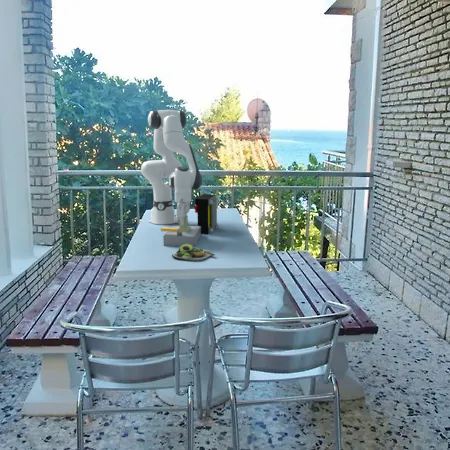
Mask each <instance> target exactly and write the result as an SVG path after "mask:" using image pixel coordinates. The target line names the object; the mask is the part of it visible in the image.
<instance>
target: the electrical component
mask: <svg viewBox="0 0 450 450" xmlns="http://www.w3.org/2000/svg"><path fill="white" fill-rule="evenodd" d="M218 200H219V197H218V196H217V195H216V194H210V193H209V194H207V193H206V194H205V193H202V194H201V195H200V196H197V197H196V198H195V205H194V206H193V207H194V213H195V214H197V226H201V235H210V234H212V233H214V230H215V229H216V228H218V227H219V223H218V206H217V205H218Z"/></svg>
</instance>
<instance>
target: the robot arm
mask: <svg viewBox="0 0 450 450" xmlns="http://www.w3.org/2000/svg"><path fill="white" fill-rule="evenodd" d="M147 123H148V126H149V127H150V128H151V129H153V130H154V131H153V147H152V148H153V151H154V152H155V153H156V154H157V155H159V156H161V157H162V159H156V160H155V159H154V160H153V159H152V160H148V161H147V160H146V161H144V162H143V163H142V164H141V167H140V172H141V175H142V176H143V178H146V179H147V181H148V182H149V183H150V184H151V187H152V191H153V202H152V204H153V205H152V206H153V207H152V208H151V210H150V219H149V220H148V223H151V224H153V225H172V224H179V218H180V224H181V225H184V217H185V216H188V214H189V212H190V210H191V202H192V191H193V190H194V191H195V190H196V191H197V190H199V189H200V188H201V186H202V185H203V177H202V175H201V172H200V169H199V166H198V163H197V160H196V157H195V153H194V150H193V147H192V145H191V144H190V143H188V142H187V140H186V139H185V137H184V130H183V129H184V128H185V127H186V125H187V115H186V113H185V112H184V111H182V110H175V109H160V110H157V109H155V110H151V111H150V112H149V113H148V116H147ZM174 153H177V154H179V155H182V157H185V159H186V162H187V165H188V167H187V166H183V165H182V162H181V161H179V160H178V159H177V158H176V156H175V154H174ZM164 178H165V179H166V178H167V182H168V184H167V183H165V182H163V179H164ZM172 190H174V202H175V203H176V212H175V207H174V202H173V198H172V197H173V196H172V194H173V193H172ZM175 213H176V214H175Z"/></svg>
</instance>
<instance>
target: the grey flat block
mask: <svg viewBox="0 0 450 450" xmlns="http://www.w3.org/2000/svg"><path fill="white" fill-rule="evenodd" d="M178 226H179V225H171V226H170V228H177V227H178ZM190 226H191V230H190V231H189V232H182V235H181V236H178V235H177V232H166V231H165V233H164V234H163V236H162V238H163V240H162V241H163V246H174V247H178V246H179V247H180V246H181V245H183V244H191V245H192V246H193V247H195V246H196V244H197V243H198V241H199V240H200V238H201V235H202V234H201V226H198V225H190Z"/></svg>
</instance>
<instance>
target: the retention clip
mask: <svg viewBox="0 0 450 450" xmlns="http://www.w3.org/2000/svg"><path fill="white" fill-rule="evenodd" d="M182 231H183V229H182V228H171V227H163V226H162V227H161V228H160V232H165V233H166V232H177V235H178V236H181V235H182Z"/></svg>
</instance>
